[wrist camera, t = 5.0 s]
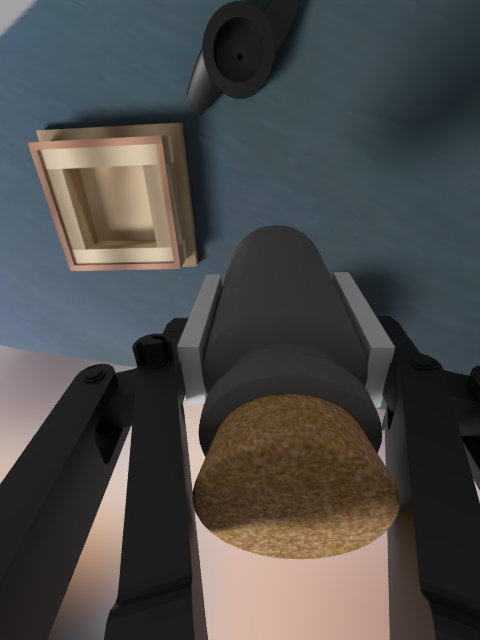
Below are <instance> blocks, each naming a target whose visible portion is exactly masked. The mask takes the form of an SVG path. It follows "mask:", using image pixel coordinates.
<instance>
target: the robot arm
mask: <svg viewBox="0 0 480 640" xmlns="http://www.w3.org/2000/svg"><path fill="white" fill-rule="evenodd" d="M333 283H334V285H335V287H336V289H337V291H338V293H339V295H340V297H341V300H342V302H343V304H344V306H345V308H346V311H347V313H348V315H349V317H350V320H351V322H352V324H353V326H354V329H355V331H356V333H357V335H358V338H359V340H360V342H361V345H362V348H363V350H364V353H365V356H366V359H367V366H368V378H367V383H366V387H365V388H366V390H367V391H368V393H369V395H370V397H371V399H372V401H373V403H374V406H375V407H380V406H381V402H382V398H383V397H384V399H385V401H386V403H387V408H386V412H385V416H384V420H383V423H382V427H381V429H382V430H384V429H385V449H386V468H387V470H388V471H389V473H390V475H391V477H392V478H393V480H394V482H395V484H396V486H397V489H398V493H399V497H400V500H399V501H400V507H399V511H398V515H397V517H396V519H395V520H394V522H393V524H392V525H391V526H390V527H389V529H388V530H387V532H388V533H387V535H388V578H389V617H390V618H389V619H390V640H480V502H479V499H478V495H477V491H476V487H475V484H474V481H475V483H476V484H477V486H478V488H479V490H480V366H476V367H475V368H473V369H472V371H471V373H470V376H468V375H463V374H458V373H453V372H449V371H445V370H443V367H442V366H441V364H440V363H439V362H438V361H437V360H435V359H434V358H432V357H430V356H428V355H424V354H420V352H419V351H418V349H417V348H416V347H415V345H414V344H413V342H412V341H411V340H410V338H409V337H407V334H406V333H405V331H403V328H402V327H401V326H400V324H399V323H398V322H397V321H395V320H394V319H392V318H391V317H389V316H375V314H374V312H373V311H372V309H371V307H370V306H369V304H368V303H367V301H366V299H365V298H364V296H363V294H362V293H361V291H360V290H359V288H358V286H357V285H356V283H355V281H354V280H353V278H352V277H351V275H350V273H349V272H334V273H333ZM221 291H222V282H221V274H207V275H206V277H205V280H204V282H203V285H202V287H201V289H200V292H199V294H198V297H197V299H196V302H195V304H194V307H193V309H192V311H191V314H190V316H189V318H174V319H173V320H172V321H171V322H169V323H168V324H167V326H166V328H165V330H164V332H163V334H150V335H146V336H144V337H142V338H140V339H138V340H137V341H136V342H135V343H134V344H133V347H132V348H133V352H134V356H135V359H136V363H137V368H135V369H132V370H128V371H123V372H118V373H115V371H114V368H113V367H112V366H110V365H109V364H97V365H93V366H90V367H87V368H86V369H84V370H83V371H81V372H80V373H79V374H78V375H77V376H76V377H75V378H74V380H73V381H72V383H71V384H70V385H69V387H68V388H67V390H66V391H65V393H64V394H63V395H62V397H61V398H60V400H59V401H58V403H57V404H56V405H55V407H54V408H53V410H52V411H51V413H50V414H49V415H48V417H47V418H46V420H45V421H44V423H43V424H42V425H41V427H40V428H39V430H38V431H37V433H36V434H35V435H34V437H33V438H32V440H31V441H30V443H29V444H28V445H27V447H26V448H25V450H24V451H23V453H22V454H21V456H20V457H19V458H18V460H17V461H16V463H15V464H14V465H13V467H12V468H11V470H10V471H9V472H8V474H7V475H6V477H5V478H4V480H3V481H2V482H1V484H0V640H47V639H48V637H49V634H50V632H51V629H52V626H53V624H54V621H55V619H56V616H57V613H58V611H59V609H60V606H61V603H62V601H63V598H64V596H65V593H66V591H67V588H68V586H69V582H70V580H71V578H72V575H73V573H74V570H75V568H76V565H77V562H78V560H79V557H80V555H81V552H82V550H83V547H84V545H85V542H86V540H87V537H88V534H89V532H90V529H91V527H92V524H93V522H94V519H95V517H96V514H97V511H98V509H99V506H100V504H101V501H102V499H103V496H104V493H105V491H106V488H107V486H108V483H109V481H110V478H111V476H112V473H113V470H114V468H115V465H116V463H117V460H118V458H119V455H120V452H121V450H122V447H123V445H124V442H125V440H126V437H127V435H128V432H129V430H130V426H132V435H131V447H130V458H129V471H128V482H127V494H126V506H125V519H124V529H123V541H122V554H121V566H120V578H119V589H118V597H117V600H116V603H115V604H114V606H113V607H112V609H111V610H110V612H109V616H108V619H107V623H106V630H105V637H104V640H208V635H207V627H206V618H205V609H204V599H203V589H202V579H201V569H200V560H199V551H198V540H197V531H196V522H195V512H194V505H193V500H192V495H193V492H192V483H191V473H190V463H189V453H188V443H187V434H186V424H185V415H184V408H183V400H184V397H185V395H186V401H187V404H204V403H205V400H206V398H207V392H206V389H205V387H204V382H203V361H204V357H205V352H206V348H207V344H208V340H209V336H210V332H211V329H212V325H213V321H214V317H215V313H216V310H217V306H218V302H219V298H220V295H221ZM473 479H474V480H473Z"/></svg>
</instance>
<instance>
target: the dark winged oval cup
mask: <svg viewBox="0 0 480 640" xmlns="http://www.w3.org/2000/svg"><path fill="white" fill-rule="evenodd" d="M299 9H300V7H299V5H298V3H297V0H273V1H272V2H271V4H270V5H269V6H268V7H267V8H266V9H265V10H264V11H263V12H261V11H260V10H259V9H258V8H257V7H255V6H254V5H252V4H250V3H247V2H242V1H236V2H231V3H228V4H226V5H224V6H222V7H221V8H220V9H218V10H217V11H216V12H215V14H214V15H213V16H212V17H211V19H210V21H209V23H208V25H207V27H206V30H205V33H204V37H203V45H202V49H201V51H200V54H199V56H198V59H197V61H196V64H195V67H194V71H193V74H192V77H191V81H190V84H189V88H188V92H187V95H186V97H187V99H188V100H189V102H190V103H191V105H192V106H193V107H194V108H195V110H196V111H197V112H198V113H199V114H200V115H202V114H203V113H204V111H205V110H206V109H207V107H208V106H209V105H210V104H211V103H212V102H213V101H214V100H215V99H216V98H217V97H218V96H219V95H220V94H222V93H224V94H226V95H227V96H229V97H232V98H236V99H244V98H248V97H251V96H253V95H255V94H256V93H258V92H259V91H260V90H261V89H262V88H263V86H264V85H265V84H266V82H267V80H268V79H269V76H270V74H271V71H272V67H273V61H274V57H275V56H276V54H277V53H278V52H279V50H280V49H281V47H282V45H283V44H284V42H285V40H286V38H287V36H288V34H289V32H290V29H291V27H292V25H293V23H294V20H295V18H296V16H297V13H298V11H299ZM239 55H242V56H243V57H242V59H241V60H238V56H239Z"/></svg>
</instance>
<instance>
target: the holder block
mask: <svg viewBox="0 0 480 640" xmlns="http://www.w3.org/2000/svg"><path fill="white" fill-rule="evenodd" d="M36 132H37V136H38V139H39V142H28V145H29V148H30V151H31V154H32V157H33V160H34V163H35V166H36V169H37V172H38V175H39V178H40V181H41V184H42V187H43V190H44V193H45V196H46V199H47V202H48V205H49V208H50V211H51V214H52V217H53V220H54V223H55V226H56V229H57V232H58V235H59V238H60V241H61V244H62V247H63V250H64V253H65V256H66V259H67V262H68V265H69V268H70V271H95V270H143V269H181V267H190V266H197V265H198V263H199V262H198V253H197V245H196V236H195V227H194V219H193V210H192V201H191V192H190V184H189V175H188V166H187V158H186V149H185V140H184V131H183V123H165V124H147V125H128V126H110V127H92V128H73V129H55V130H37V131H36Z"/></svg>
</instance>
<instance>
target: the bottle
mask: <svg viewBox="0 0 480 640" xmlns="http://www.w3.org/2000/svg"><path fill="white" fill-rule="evenodd" d="M367 378H368V366H367V359H366V356H365V353H364V350H363V348H362V345H361V342H360V340H359V338H358V335H357V333H356V331H355V329H354V326H353V324H352V322H351V320H350V317H349V315H348V313H347V311H346V308H345V306H344V304H343V302H342V300H341V297H340V295H339V293H338V291H337V289H336V287H335V285H334V283H333V281H332V278H331V276H330V274H329V272H328V270H327V268H326V266H325V264H324V262H323V259H322V257H321V255H320V253H319V251H318V249H317V248H316V246H315V245H314V243H313V242H312V241H311V240H310V239H309V238H308V237H307V236H306V235H305V234H303V233H302V232H300V231H298V230H296V229H294V228H291V227H287V226H279V225H273V226H267V227H262V228H259V229H257V230H255V231H253V232H252V233H250V234H249V235H247V236H246V237H245V238H244V239H243V240H242V241H241V242H240V243H239V244H238V246H237V247H236V249H235V251H234V253H233V255H232V258H231V260H230V263H229V267H228V270H227V274H226V277H225V281H224V284H223V288H222V291H221V295H220V298H219V302H218V306H217V310H216V313H215V317H214V321H213V325H212V329H211V332H210V336H209V340H208V344H207V348H206V352H205V357H204V361H203V382H204V387H205V389H206V392H207V398H206V400H205V403H204V407H203V410H202V414H201V419H200V424H199V441H200V445H201V448H202V451H203V453H204V455H205V457H206V458H205V461H204V463H203V465H202V467H201V470H200V472H199V474H198V477H197V479H196V481H195V485H194V489H193V495H192V500H193V505H194V509H195V512H196V514H197V516H198V517H199V519H200V521H201V522H202V524H203V525H204V526H205V527H206V528H207V529H208V530H209V531H210V532H211V533H213V534H214V535H216V536H217V537H219V538H220V539H222V540H223V541H224V542H226V543H229V544H231V545H233V546H235V547H238V548H240V549H242V550H245V551H249V552H252V553H256V554H259V555H263V556H269V557H275V558H285V559H286V558H287V559H318V558H323V557H329V556H335V555H341V554H344V553H347V552H350V551H353V550H356V549H359V548H361V547H363V546H365V545H368V544H370V543H371V542H373V541H374V540H376V539H377V538H379V537H380V536H381V535H382V534H384V533H385V532H386V530H388V529H389V527H390V526H391V525H392V524H393V522H394V520H395V519H396V517H397V515H398V511H399V507H400V501H399V500H400V497H399V493H398V489H397V486H396V484H395V482H394V480H393V478H392V477H391V475H390V473H389V471H388V470H387V468H386V467H385V465H384V464H383V462H382V460H381V459H380V457H379V455H378V451H379V448H380V445H381V442H382V429H381V422H380V419H379V416H378V413H377V410H376V408H375V406H374V403H373V401H372V399H371V397H370V395H369V393H368V391H367V390H366V388H365V387H366V383H367Z"/></svg>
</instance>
